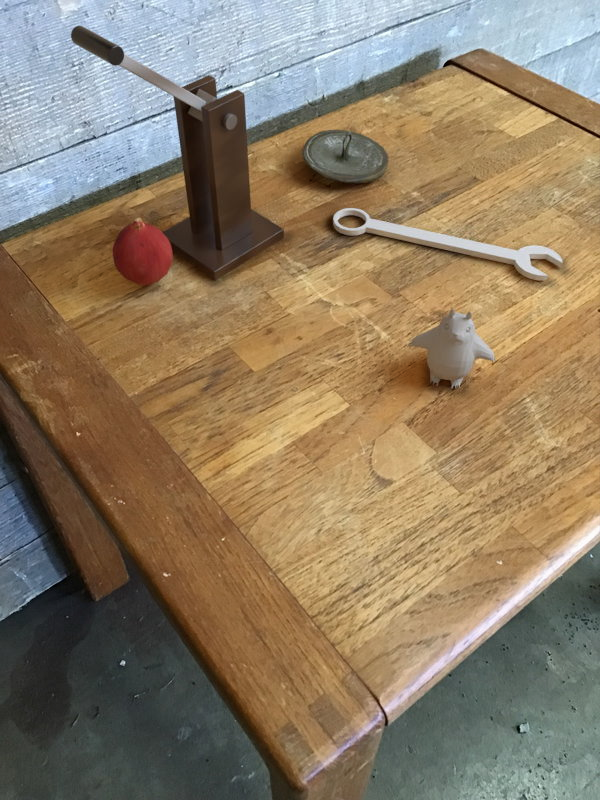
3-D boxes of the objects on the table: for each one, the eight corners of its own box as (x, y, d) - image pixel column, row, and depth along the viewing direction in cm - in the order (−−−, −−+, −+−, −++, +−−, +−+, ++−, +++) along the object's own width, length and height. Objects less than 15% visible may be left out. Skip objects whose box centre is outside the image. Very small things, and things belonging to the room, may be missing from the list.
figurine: (399, 383, 67) (409, 321, 61) (409, 338, 71) (420, 276, 65) (488, 400, 66) (507, 338, 60) (493, 353, 69) (512, 291, 63)
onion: (112, 298, 74) (96, 234, 68) (129, 262, 78) (115, 198, 72) (168, 305, 74) (156, 240, 67) (183, 268, 77) (173, 203, 71)
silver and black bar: (103, 67, 55) (116, 36, 55) (65, 45, 58) (77, 15, 57) (231, 137, 69) (242, 113, 69) (196, 118, 71) (207, 94, 71)
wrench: (557, 284, 76) (563, 256, 78) (559, 279, 75) (565, 251, 78) (326, 232, 81) (340, 207, 84) (327, 227, 80) (340, 202, 83)
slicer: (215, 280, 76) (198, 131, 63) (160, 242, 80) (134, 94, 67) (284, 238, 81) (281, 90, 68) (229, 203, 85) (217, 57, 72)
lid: (298, 159, 93) (289, 126, 89) (372, 130, 93) (366, 96, 89) (323, 210, 87) (314, 177, 83) (402, 180, 87) (396, 145, 83)
